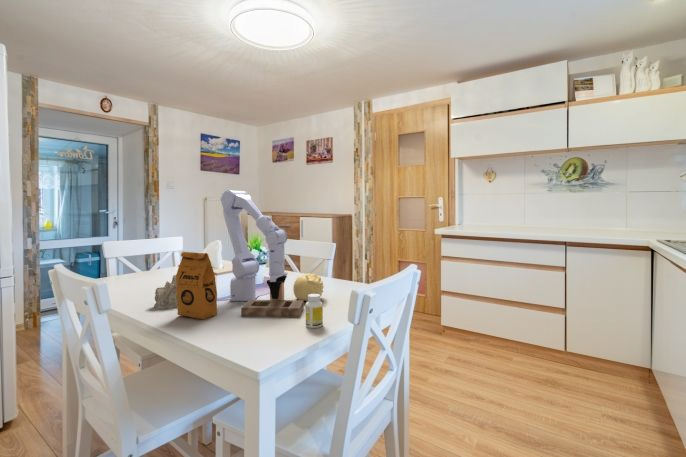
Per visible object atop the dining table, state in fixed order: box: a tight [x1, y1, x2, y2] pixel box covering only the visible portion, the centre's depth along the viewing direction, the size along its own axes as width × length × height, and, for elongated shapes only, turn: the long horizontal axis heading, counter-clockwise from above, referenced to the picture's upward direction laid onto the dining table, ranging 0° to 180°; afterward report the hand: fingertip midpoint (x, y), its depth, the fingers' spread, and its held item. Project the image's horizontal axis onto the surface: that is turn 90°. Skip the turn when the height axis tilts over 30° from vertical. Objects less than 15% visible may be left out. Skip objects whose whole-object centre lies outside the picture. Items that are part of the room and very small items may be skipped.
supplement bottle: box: [305, 294, 324, 329], centre depth 112 cm, size 5×5×10 cm
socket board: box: [240, 299, 305, 318], centre depth 126 cm, size 20×10×3 cm, turn 88°
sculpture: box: [292, 272, 324, 302], centre depth 142 cm, size 11×12×11 cm
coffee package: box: [175, 251, 218, 320], centre depth 121 cm, size 10×12×22 cm
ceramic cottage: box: [153, 274, 178, 310], centre depth 137 cm, size 16×16×15 cm
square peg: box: [269, 282, 285, 300], centre depth 136 cm, size 4×4×8 cm
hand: (277, 296), depth 136 cm, fingers open, 6 cm apart
